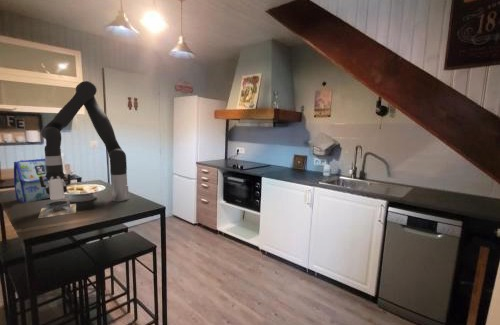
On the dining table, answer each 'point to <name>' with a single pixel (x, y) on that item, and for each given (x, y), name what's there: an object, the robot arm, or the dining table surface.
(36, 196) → the lunch bag
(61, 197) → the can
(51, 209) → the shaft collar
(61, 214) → the shaft board
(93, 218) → the dining table surface
